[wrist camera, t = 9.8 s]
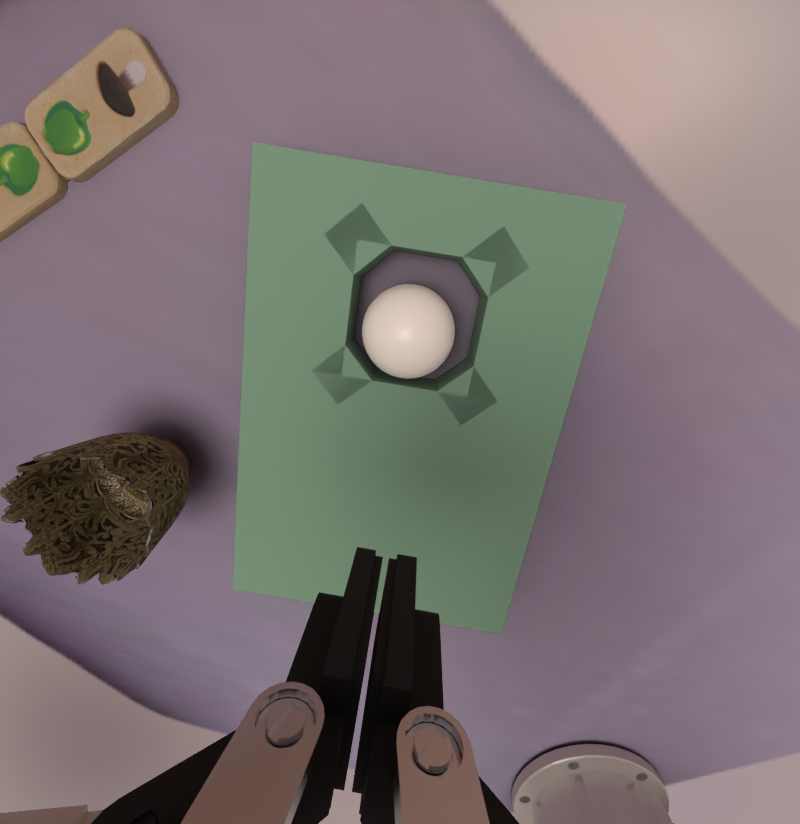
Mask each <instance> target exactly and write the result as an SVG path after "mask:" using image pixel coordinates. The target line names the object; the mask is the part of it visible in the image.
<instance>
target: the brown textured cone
mask: <svg viewBox="0 0 800 824" xmlns="http://www.w3.org/2000/svg"><path fill="white" fill-rule="evenodd" d="M33 459H34V460H32V461H30V462H27V463H24V464H21V465H19V466H17V467H16V469H17V471H18V472H19V473H20V472H21V473H20V474H19V475H17V476H16V477H14V478H13V479H11V480H10V481H9V482H8V483H7V484H6V485H5V486H4V487H3V488H2V489H1V490H0V494H1V496H2V497H3V498H4V499H5V500H6V501H7V502H9V503H10V506H9V507H7V508H6V509H5V510H4V512H3V514H2V518H1V519H2V521H4V522H7V523H12V524H13V523H17V522H23V521H22V520H19V519H24V520H25V522H26V526H25V530H26V531H28V530H29V531H31V533H32V535H33V536H32V538H31V539H30V540H29V542H27V543H26V544H24V545H23V551H24V554H25V555H26V556H35V555H40V554H41V564H42V566H43V567H44V569H45V570H46V572H47V573H48V574H49V575H54V576H55V575H64V574H69V573H77V574H78V578H77V576H76V575H75V577H76V579H77V581H78V584H84V583H86V582H87V581H88V580H90V579H91V578H93V577H94V576H95V575H97V574H98V573H100V574H99V578H98V580H99V581H100V583H101V584H107V583H109V582H112V581H114V580H115V579H116V578H117V579H116V581H119V580H121V579H122V578H123V577H124V576H126V575H127V574H128V573H129V572H130V571H132V570H134V569H135V568H136V569H137V568H139V567H140V565H141V564H142V563H143V562H144V560H145V559H146V558H147V556H148V555H149V554H150V552H151V551H152V550H153V549H154V547H155V546H156V545H157V544H158V542H159V541H160V540H161V539H162V537H163V536H164V535H165V533H166V532H167V531H168V530H169V528H170V527H171V526H172V524H173V523H174V522H175V520H176V519H177V517H178V515H179V514H180V512H181V511H182V509H183V507H184V505H185V502H186V500H187V496H188V492H189V477H188V475H189V472H190V459H189V456H188V454H187V452H186V451H185V450H184V448H183V447H182V446H181V445H179V444H178V443H176V442H174V441H172V440H169V439H164V438H155V437H152V436H149V435H145V434H140V433H118V434H111V435H107V436H102V437H98V438H95V439H91V440H88V441H85V442H81V443H78V444H75V445H71V446H68V447H65V448H62V449H59V450H56V451H52V452H47V453H44V454H41V455H38V456H35V457H33ZM29 531H28V532H29ZM29 533H30V532H29ZM139 563H140V564H139ZM138 564H139V567H138ZM78 572H80V573H78Z"/></svg>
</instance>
